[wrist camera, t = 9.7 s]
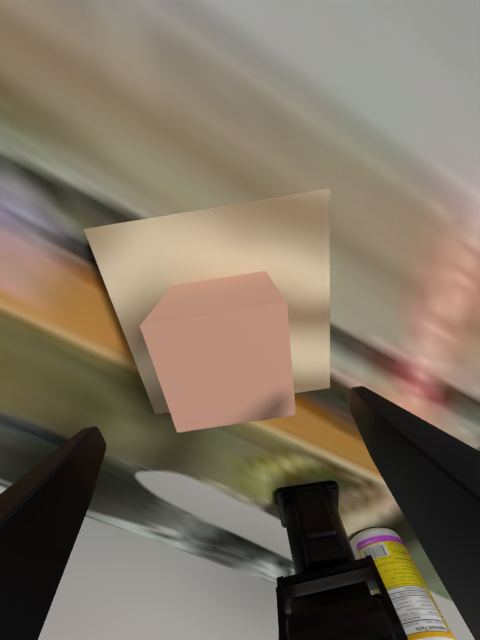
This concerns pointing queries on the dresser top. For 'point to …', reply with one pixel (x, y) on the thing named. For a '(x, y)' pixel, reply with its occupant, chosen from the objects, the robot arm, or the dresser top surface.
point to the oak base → (226, 271)
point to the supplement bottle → (402, 584)
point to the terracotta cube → (222, 351)
